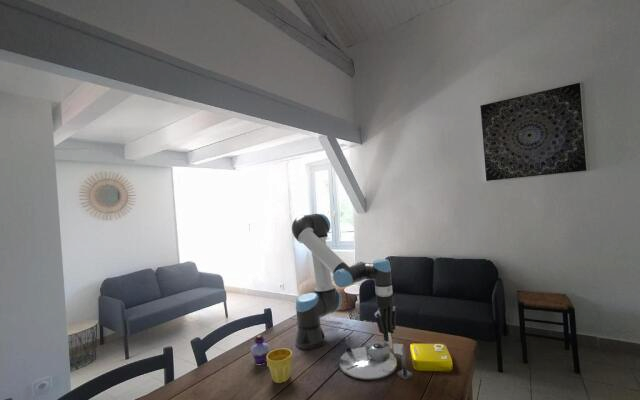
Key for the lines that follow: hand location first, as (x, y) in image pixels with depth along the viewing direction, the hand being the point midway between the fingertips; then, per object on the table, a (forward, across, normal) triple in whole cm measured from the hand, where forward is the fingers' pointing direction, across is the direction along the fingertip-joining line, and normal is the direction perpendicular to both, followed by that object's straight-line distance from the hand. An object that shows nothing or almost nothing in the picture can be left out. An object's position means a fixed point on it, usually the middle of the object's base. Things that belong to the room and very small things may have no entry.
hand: (389, 347), depth 131 cm
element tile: (+4, +8, -15) cm, 18 cm away
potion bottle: (+3, -48, +33) cm, 58 cm away
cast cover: (+1, -7, 0) cm, 7 cm away
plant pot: (+3, -46, +15) cm, 49 cm away
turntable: (+3, -13, +1) cm, 13 cm away
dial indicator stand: (+3, -7, -16) cm, 17 cm away
